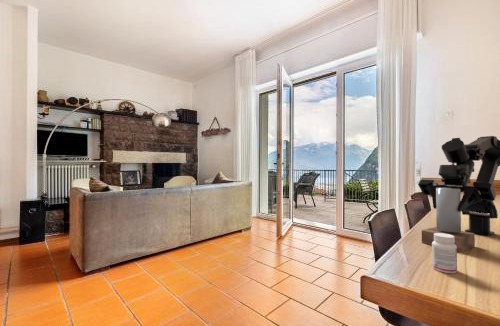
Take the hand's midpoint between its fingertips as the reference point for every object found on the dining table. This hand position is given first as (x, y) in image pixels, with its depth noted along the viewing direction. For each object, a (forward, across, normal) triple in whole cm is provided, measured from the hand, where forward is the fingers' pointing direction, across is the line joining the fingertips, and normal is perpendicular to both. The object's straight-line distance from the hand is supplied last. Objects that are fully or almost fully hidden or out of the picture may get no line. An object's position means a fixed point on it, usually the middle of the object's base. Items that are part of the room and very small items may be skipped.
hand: (446, 209), depth 76 cm
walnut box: (+7, 0, +9) cm, 12 cm away
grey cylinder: (+4, 0, +6) cm, 7 cm away
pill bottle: (+23, +7, -6) cm, 25 cm away
